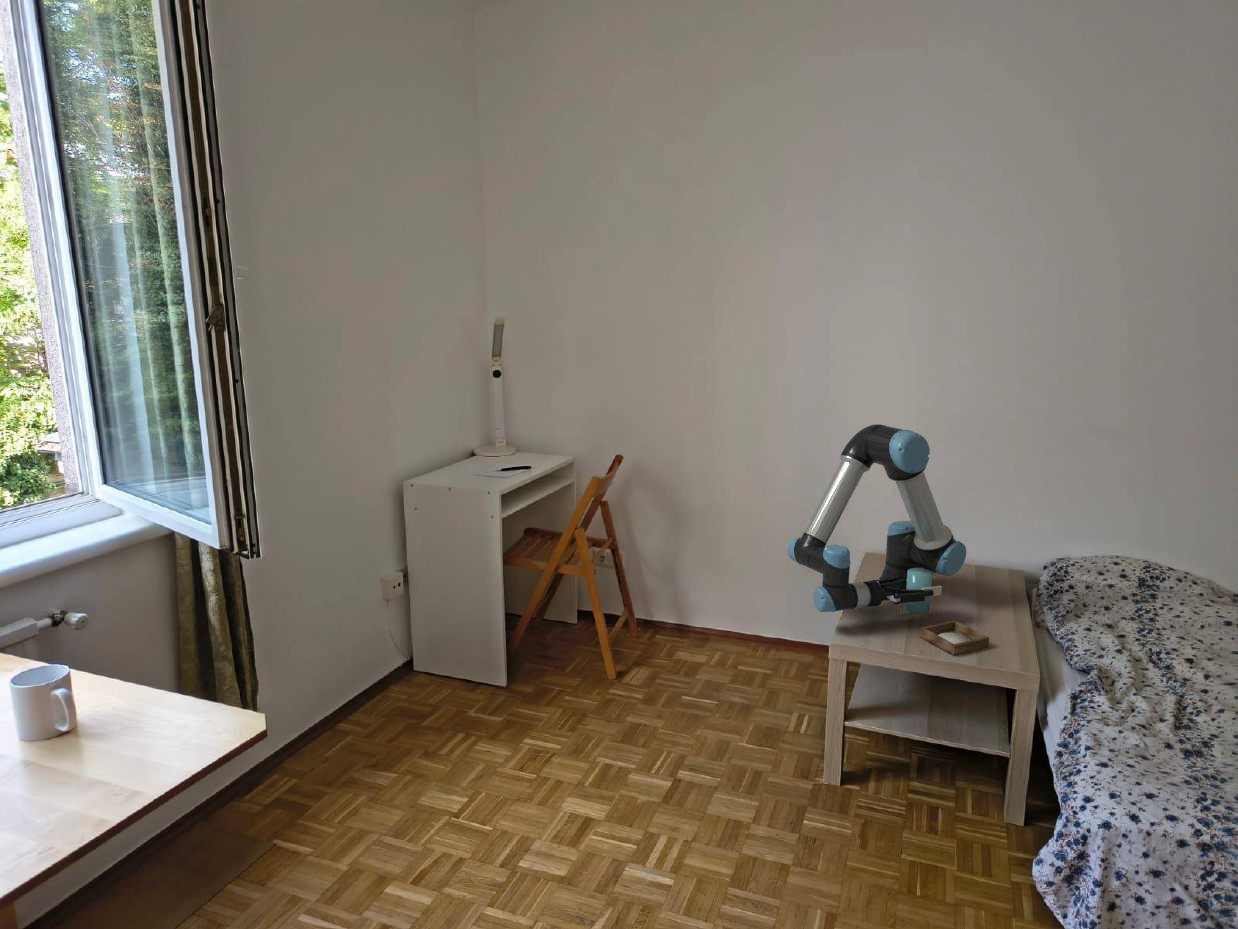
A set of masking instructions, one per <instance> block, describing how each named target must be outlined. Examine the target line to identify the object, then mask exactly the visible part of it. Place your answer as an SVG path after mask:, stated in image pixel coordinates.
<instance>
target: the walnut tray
mask: <svg viewBox="0 0 1238 929" xmlns="http://www.w3.org/2000/svg"><path fill="white" fill-rule="evenodd" d="M941 633H957V634H961V635H964V636H966V637H968V638H969V639H970V640H969V641H965V642H961V643H957V644H953V643H951V642H950V641H948V640H946V639H944V638H942V637H940V636H938V635H939V634H941ZM919 638H920V639H922V640H923V641H925V642H927V643H929V644H931V645H932V646H934V647H936V648H938V649H940V650H942V651H943V652H946V653H947V654H948V655H951V656H953V657H955V656H959V654H960V655H965V654H968V653H972V652H976V651H980V650H983V649H987V648H989V645H990V644H989V643H990V637H989V636H987V635H984V634H983V633H981V632H979V631H977V630H974V629H973V628H972V627H968V626H967V625H964V624H963V623H961V622H960V621H956V620H949V621H946V622H943V623H942V622H941V623H938V624H933V625H928V626H924V627H920V633H919Z"/></svg>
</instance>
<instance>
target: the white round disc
mask: <svg viewBox="0 0 1238 929" xmlns="http://www.w3.org/2000/svg"><path fill="white" fill-rule="evenodd" d="M938 636H940V637H942V638H944V639H946V640H948V641H950V642H951V643H953V644H957V643H961V642H965V641H969V640H970V639H969V638H968V637H966V636H964V635H961V634H957V633H941V634H939V635H938Z"/></svg>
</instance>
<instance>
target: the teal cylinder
mask: <svg viewBox="0 0 1238 929" xmlns="http://www.w3.org/2000/svg"><path fill="white" fill-rule="evenodd" d="M932 580H933V572H932V571H930V570H927V569H925V568H911V569H909V570H908V572H907V587H906V589H912V590H921V588H926V587H932ZM931 598H932V596H930V597H925V601H922V602H909V603H904V605H905V607H904V609H905V610H906V611H907V612H909V613H912V614H917V615H924V614H927V613H928V614H929V612H930V608H931Z"/></svg>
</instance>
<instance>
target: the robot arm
mask: <svg viewBox="0 0 1238 929" xmlns="http://www.w3.org/2000/svg"><path fill="white" fill-rule="evenodd" d="M930 449H931V448H930V446H929V442H928V441H927V439H926V438H925V437H924V435H922V434H920V433H917V432H915V431H913V430H910V429H902V428H898V427H894V426H893V427H892V426H887V425H885V424H884V425H883V424H877V423H876V424H871V425H870V424H869V425H868V426H865V427H863V428H862V429H860V430H859V431H858V432H857V433H856V434H854V435H853V436H852V437H851V439H850V440H849V441H848V442H847V443H846V445H845V447H844V448H843V450H842V452H841V453H840V455H839V458H840V463H839V464H838V467H837V468H836V470H835V473H834V474H833V476H832V478H831V480H830V482H829V484H828V485H827V488H826V490H825V491H824V493H823V495H822V498H821V500H820V501H819V503H818V505H817V507H816V509H815V511H814V513H813V514H812V517H811V518H810V521H809V522H808V524H807V527H806V528H805V530H804V532H803V533H802V536H801V537H798V536H797V537H795V538H793V539H792V540H791V541H790V542H789V544H788V546H787V555H788V557H789V558H790V559H791V560H792V561H793V562H796V563H797V564H798V565H799V566H800V565H802V566H804V567H806V568H808V569H811V570H813V571H815V572H817V573H819V574H821V575H822V583H821V586H817V587H816V588H814V590H813V593H812V599H813V603H814V607H815V608H816V609H817V610H818V611H819V612H820V613H831V612H832V613H835V612H839V611H846V610H857V609H860V608H862V609H863V608H866V607H868V608H871V607H878V606H880V605H881V604H882V603H883V601H893V605H899V604H905V603H909V602H922V601H925V597H930V596H931V597H936V596H942V591H943V590H942V589H943V586H942V585H936V586H931V587H926V588H921V590H912V589H906V587H907V572H908V570H909V569H911V568H923V569H927V570H930V571H931V572H932V573H935V574H937V575H939V576H940V575H941V576H944V577H952V576H954V575H955V574H957V573H958V572H959V571H960V570H961V569H962V567H963V565H964V564H965V560H966V557H967V548H966V545H965V544H964V543H963V542H962V541H959V540H956V539H955V537H954V535H953V532H952V530H951V529H950V527H949V526H947V525H945V524H944V522H943V520H942V517H941V514H940V512H939V509H938V507H937V504H936V502H935V499H934V498H935V497H933V493H932V490H931V487H930V485H929V482H928V480H927V477H926V474H925V470H926V468H927V465H928V462H929V460H930V457H929V455H931V450H930ZM873 464H876V465H881V466H883V469H884V471H885V473H886V476H887V477H888V478H889V479H890V480H891V481H893V482H895V484H896V486H897V489H898V491H899V494H900V497H901V499H902V502H903V504H904V507H905V509H906V513H907V514H908V517H909V519H910V520H898V521H894V522H892V523H890V524H889V526H888V530H887V535H886V548H885V549H886V551H885V564H884V565H885V566H884V567H883V570H882V573H881V576H879V579H872V580H868V581H867V580H866V581H856V582H850V571H851V570H850V569H851V555H850V554H851V552H850V549H849V548H848V547H847V546H844V545H841V544H840V545H839V544H828V545H827V543H828V542H829V540H830V538H831V536H832V534H833V532H834V530H835V528H836V526H837V525H838V522H840V521H839V520H840V519H841V517H842V515H843V513H844V512H845V509H846V507H847V505H848V504H849V502H850V500H851V498H852V496H853V494H854V492H855V490H856V488H857V486H858V485H859V482H860V481H861V479H862V477H863V474H865V473H867V472H868V471H870V469H871V467H872V466H873ZM931 597H930V598H931Z"/></svg>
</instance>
